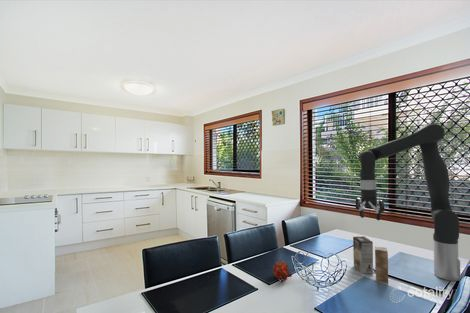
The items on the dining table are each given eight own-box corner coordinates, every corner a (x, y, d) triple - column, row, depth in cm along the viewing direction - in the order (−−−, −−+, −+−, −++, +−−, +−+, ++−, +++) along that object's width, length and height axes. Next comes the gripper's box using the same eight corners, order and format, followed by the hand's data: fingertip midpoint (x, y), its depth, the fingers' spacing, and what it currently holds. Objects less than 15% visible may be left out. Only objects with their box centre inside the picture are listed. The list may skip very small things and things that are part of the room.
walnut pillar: (387, 279, 118) (387, 247, 118) (388, 283, 114) (387, 251, 114) (375, 276, 121) (374, 246, 121) (376, 281, 116) (375, 249, 117)
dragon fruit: (279, 275, 127) (286, 291, 115) (266, 266, 126) (271, 281, 114) (289, 262, 126) (297, 276, 114) (276, 254, 125) (282, 267, 113)
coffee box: (353, 265, 134) (352, 236, 134) (364, 265, 134) (364, 236, 134) (361, 273, 124) (360, 241, 125) (374, 273, 124) (373, 241, 125)
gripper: (386, 188, 127) (388, 219, 126) (359, 187, 139) (361, 215, 139) (378, 189, 123) (380, 222, 122) (351, 188, 135) (353, 217, 135)
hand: (370, 218), depth 130 cm, fingers open, 8 cm apart
